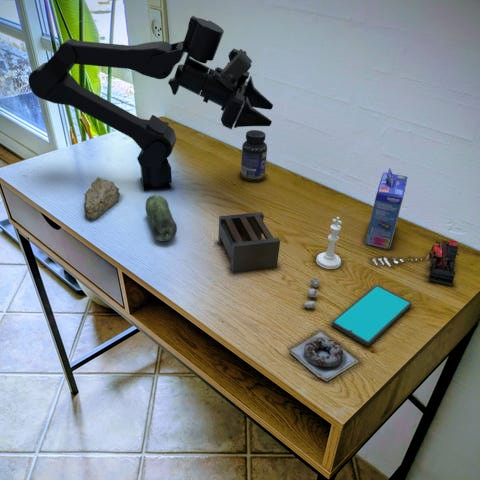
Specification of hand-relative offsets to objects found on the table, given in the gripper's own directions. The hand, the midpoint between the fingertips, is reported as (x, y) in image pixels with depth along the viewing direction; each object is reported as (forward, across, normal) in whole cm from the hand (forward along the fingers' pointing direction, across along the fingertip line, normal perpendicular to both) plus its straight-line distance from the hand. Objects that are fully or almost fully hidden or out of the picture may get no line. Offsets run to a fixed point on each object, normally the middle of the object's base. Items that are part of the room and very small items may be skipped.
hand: (271, 115), depth 106 cm
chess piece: (+19, -27, +11) cm, 35 cm away
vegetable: (-16, -22, +23) cm, 35 cm away
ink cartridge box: (+30, -16, +8) cm, 35 cm away
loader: (+40, -26, +3) cm, 48 cm away
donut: (+17, -54, +11) cm, 58 cm away
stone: (-30, -13, +26) cm, 42 cm away
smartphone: (+25, -43, +8) cm, 51 cm away
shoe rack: (+4, -27, +17) cm, 32 cm away
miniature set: (+33, -25, +6) cm, 42 cm away
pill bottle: (+4, +8, +19) cm, 21 cm away
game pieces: (+16, -39, +11) cm, 44 cm away
